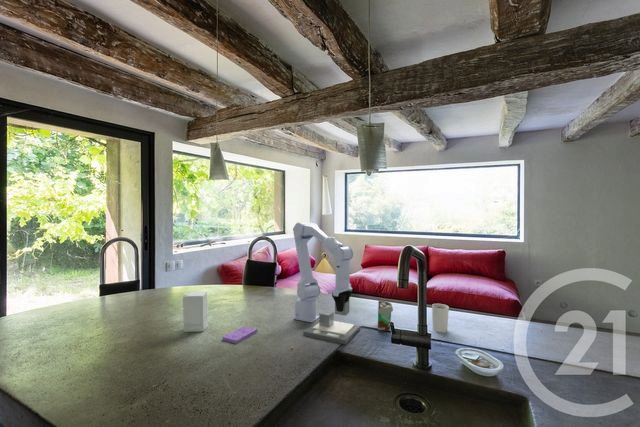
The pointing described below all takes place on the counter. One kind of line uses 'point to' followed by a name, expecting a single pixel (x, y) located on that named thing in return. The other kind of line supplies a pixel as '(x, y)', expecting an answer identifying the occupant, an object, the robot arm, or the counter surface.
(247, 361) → the counter surface
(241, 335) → the sponges
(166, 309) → the counter surface
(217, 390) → the counter surface
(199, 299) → the skincare box
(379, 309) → the food container
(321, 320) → the block
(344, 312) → the block
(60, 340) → the counter surface
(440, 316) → the white cup
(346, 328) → the kitchen scale
